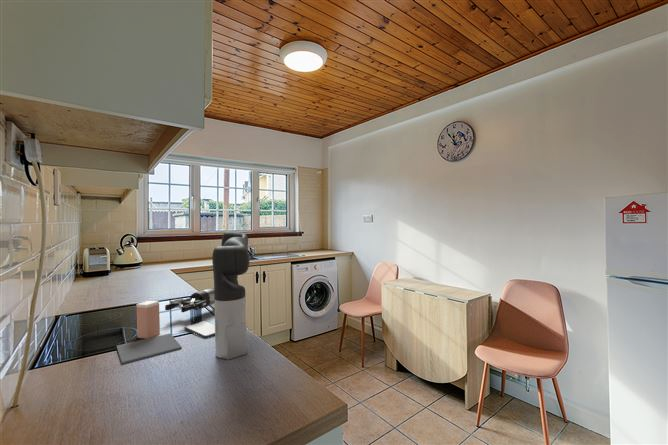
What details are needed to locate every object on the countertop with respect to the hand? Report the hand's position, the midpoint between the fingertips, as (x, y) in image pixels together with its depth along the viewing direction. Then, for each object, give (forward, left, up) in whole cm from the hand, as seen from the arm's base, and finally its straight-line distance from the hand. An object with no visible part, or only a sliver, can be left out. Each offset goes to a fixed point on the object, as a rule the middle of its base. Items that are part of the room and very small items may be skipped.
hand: (173, 308), depth 122 cm
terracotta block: (-6, +10, -7) cm, 13 cm away
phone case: (-15, -7, -7) cm, 18 cm away
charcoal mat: (-19, +12, -7) cm, 23 cm away
